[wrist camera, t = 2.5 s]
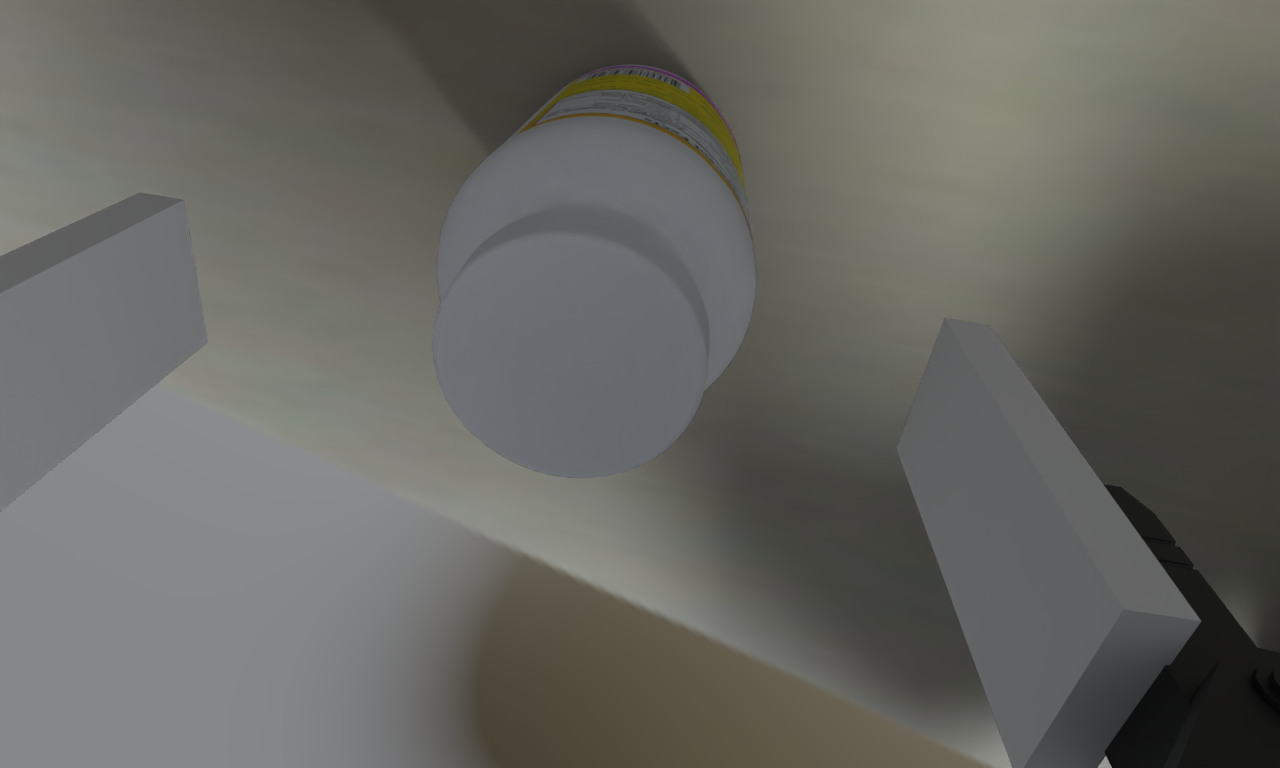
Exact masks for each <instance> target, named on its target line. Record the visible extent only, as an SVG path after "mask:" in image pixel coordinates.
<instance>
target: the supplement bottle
mask: <svg viewBox="0 0 1280 768" xmlns="http://www.w3.org/2000/svg"><path fill="white" fill-rule="evenodd" d="M437 283H438V290H439V296H440V302H441V304H440V307H439V310H438V313H437V317H436V321H435V325H434V334H433V358H434V364H435V368H436V373H437V377H438V380H439V383H440V385H441V388H442V390H443V393H444V395H445V397H446V399H447V401H448V403H449V404H450V406H451V408H452V409H453V411H454V413H455V414H456V415H457V417H458V418H459V419H460V420H461V422H462V423H463V424H464V426H465V427H466V428H467V429H468V430H469V431H470V432H471V433H472V434H473V435H474V436H475V437H476V438H478V439H479V440H480V441H481V442H482V443H484V444H485V445H486V446H487V447H489V448H490V449H492V450H493V451H495V452H496V453H498V454H500V455H501V456H503V457H505V458H507V459H509V460H511V461H513V462H515V463H517V464H519V465H521V466H523V467H525V468H528V469H531V470H534V471H537V472H541V473H545V474H549V475H554V476H560V477H568V478H593V477H602V476H608V475H613V474H617V473H621V472H625V471H628V470H630V469H633V468H636V467H638V466H640V465H642V464H644V463H647V462H648V461H650V460H652V459H653V458H655V457H657V456H658V455H660V454H661V453H662V452H664V451H665V450H666V449H667V448H668V447H669V446H670V445H672V444H673V443H674V442H675V441H676V440H677V439H678V438H679V437H680V435H681V434H682V433H683V432H684V431H685V430H686V428H687V427H688V425H689V424H690V422H691V421H692V419H693V417H694V415H695V413H696V411H697V409H698V407H699V405H700V402H701V399H702V397H703V393H704V391H705V390H706V389H707V388H708V387H709V386H710V385H711V384H712V383H713V382H714V381H715V380H716V379H717V378H718V377H719V376H720V375H721V374H722V373H723V372H724V371H725V369H726V368H727V366H728V365H729V364H730V362H731V361H732V359H733V358H734V356H735V354H736V353H737V351H738V349H739V347H740V345H741V343H742V341H743V338H744V336H745V334H746V331H747V329H748V326H749V323H750V319H751V315H752V311H753V307H754V300H755V291H756V266H755V257H754V249H753V242H752V235H751V230H750V224H749V218H748V210H747V203H746V197H745V190H744V182H743V176H742V169H741V163H740V157H739V153H738V149H737V145H736V142H735V139H734V137H733V134H732V132H731V129H730V127H729V125H728V123H727V122H726V120H725V118H724V117H723V115H722V114H721V112H720V111H719V109H718V108H717V107H716V106H715V105H714V103H713V102H712V101H711V100H710V99H709V98H708V97H707V96H706V95H705V94H704V93H703V92H702V91H701V90H700V89H698V88H697V87H696V86H694V85H693V84H692V83H690V82H689V81H687V80H685V79H684V78H682V77H680V76H678V75H676V74H674V73H671V72H668V71H666V70H663V69H660V68H656V67H651V66H645V65H635V64H623V65H614V66H609V67H604V68H600V69H597V70H594V71H591V72H588V73H586V74H584V75H582V76H580V77H578V78H577V79H575V80H573V81H572V82H570V83H569V84H567V85H566V86H565V87H563V88H562V89H561V90H560V91H558V92H557V93H556V94H555V95H554V96H553V97H552V98H550V99H549V100H548V101H547V102H546V103H545V104H544V105H543V106H542V107H541V108H540V109H539V110H538V111H537V112H536V113H535V114H534V115H532V116H531V117H530V118H529V119H528V120H527V121H526V122H525V123H524V124H523V125H522V126H521V127H520V128H519V129H518V130H517V131H516V132H515V133H514V134H513V135H512V136H510V137H509V138H508V139H507V140H506V141H505V142H504V143H503V144H502V145H501V146H499V147H498V148H497V149H496V150H495V151H494V152H492V153H491V154H490V155H489V156H488V157H487V158H486V159H485V160H484V161H483V162H482V163H481V164H480V165H479V166H478V167H477V168H476V169H475V170H474V171H473V172H472V173H471V174H470V175H469V177H468V178H467V179H466V181H465V182H464V183H463V185H462V187H461V188H460V190H459V191H458V193H457V195H456V196H455V198H454V200H453V202H452V204H451V206H450V208H449V210H448V213H447V216H446V218H445V221H444V224H443V227H442V231H441V235H440V240H439V247H438V255H437Z"/></svg>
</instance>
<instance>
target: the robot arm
mask: <svg viewBox="0 0 1280 768" xmlns="http://www.w3.org/2000/svg"><path fill="white" fill-rule="evenodd" d="M207 342H208V341H207V335H206V329H205V323H204V317H203V311H202V305H201V299H200V293H199V287H198V281H197V275H196V269H195V263H194V257H193V251H192V245H191V239H190V233H189V227H188V221H187V215H186V209H185V203H184V200H182V199H176V198H169V197H163V196H156V195H150V194H144V193H138V194H136V195H134V196H132V197H129V198H127V199H125V200H123V201H121V202H118V203H116V204H114V205H112V206H110V207H107V208H105V209H103V210H101V211H99V212H97V213H94V214H92V215H90V216H88V217H86V218H83V219H81V220H79V221H77V222H75V223H72V224H70V225H68V226H66V227H64V228H61V229H59V230H57V231H55V232H53V233H51V234H48V235H46V236H44V237H42V238H40V239H37V240H35V241H33V242H31V243H29V244H26V245H24V246H22V247H20V248H18V249H16V250H13V251H11V252H9V253H7V254H5V255H2V256H0V512H1V511H2V510H3V509H4V508H5V507H6V506H8V505H9V504H10V503H12V502H13V501H14V500H15V499H17V498H18V497H19V496H20V495H21V494H23V493H24V492H25V491H26V490H28V489H29V488H30V487H31V486H32V485H34V484H35V483H36V482H37V481H39V480H40V479H41V478H42V477H43V476H45V475H46V474H47V473H48V472H50V471H51V470H52V469H53V468H54V467H56V466H57V465H58V464H59V463H61V462H62V461H63V460H64V459H65V458H66V457H68V456H69V455H70V454H72V453H73V452H74V451H75V450H76V449H78V448H79V447H80V446H81V445H83V444H84V443H85V442H86V441H87V440H89V439H90V438H91V437H92V436H94V435H95V434H96V433H97V432H98V431H100V430H101V429H102V428H103V427H105V426H106V425H107V424H108V423H109V422H111V421H112V420H113V419H114V418H116V417H117V416H118V415H119V414H121V413H122V412H123V411H124V410H125V409H126V408H128V407H129V406H130V405H131V404H133V403H134V402H135V401H136V400H137V399H139V398H140V397H141V396H143V395H144V394H145V393H146V392H147V391H148V390H150V389H151V388H152V387H154V386H155V385H156V384H157V383H158V382H160V381H161V380H162V379H163V378H165V377H166V376H167V375H168V374H169V373H171V372H172V371H173V370H174V369H176V368H177V367H178V366H179V365H180V364H182V363H183V362H184V361H185V360H187V359H188V358H189V357H190V356H191V355H193V354H194V353H195V352H196V351H198V350H199V349H200V348H201V347H202V346H204V345H205V344H206V343H207ZM896 450H897V452H898V455H899V458H900V460H901V463H902V466H903V469H904V471H905V474H906V477H907V480H908V482H909V485H910V488H911V491H912V493H913V496H914V499H915V502H916V504H917V507H918V510H919V513H920V515H921V518H922V521H923V524H924V526H925V529H926V532H927V534H928V537H929V540H930V543H931V545H932V548H933V551H934V554H935V556H936V559H937V562H938V565H939V567H940V570H941V573H942V576H943V578H944V581H945V584H946V587H947V589H948V592H949V595H950V598H951V600H952V603H953V606H954V608H955V611H956V614H957V617H958V619H959V622H960V625H961V628H962V630H963V633H964V636H965V639H966V641H967V644H968V647H969V650H970V652H971V655H972V658H973V661H974V663H975V666H976V669H977V672H978V674H979V677H980V680H981V682H982V685H983V688H984V691H985V693H986V696H987V699H988V702H989V704H990V707H991V710H992V713H993V715H994V718H995V721H996V724H997V726H998V729H999V732H1000V735H1001V737H1002V740H1003V743H1004V745H1005V748H1006V751H1007V754H1008V756H1009V759H1010V762H1011V765H1012V767H1013V768H1097V767H1098V766H1099V764H1100V763H1101V762H1102V760H1103V759H1104V757H1105V756H1107V758H1108V760H1109V762H1110V764H1111V766H1112V768H1280V653H1278V652H1274V651H1270V650H1265V649H1261V648H1257V647H1256V645H1255V644H1254V643H1253V641H1252V640H1251V639H1250V638H1249V636H1248V635H1247V634H1246V632H1245V631H1244V630H1243V628H1242V627H1241V626H1240V625H1239V623H1238V622H1237V621H1236V619H1235V618H1234V617H1233V615H1232V614H1231V613H1230V612H1229V610H1228V609H1227V608H1226V606H1225V605H1224V604H1223V602H1222V601H1221V600H1220V599H1219V597H1218V596H1217V595H1216V593H1215V592H1214V591H1213V589H1212V588H1211V587H1210V586H1209V584H1208V583H1207V582H1206V580H1205V579H1204V578H1203V576H1202V575H1201V574H1200V572H1199V571H1198V570H1193V563H1192V562H1191V561H1190V559H1189V558H1188V557H1187V556H1186V554H1185V553H1184V552H1183V550H1182V549H1181V548H1180V547H1177V546H1175V540H1174V539H1173V537H1172V536H1171V535H1170V533H1169V532H1168V531H1167V530H1166V528H1165V527H1164V526H1163V524H1162V523H1161V522H1160V520H1159V519H1158V518H1157V517H1156V515H1155V514H1154V513H1153V512H1152V511H1150V510H1149V509H1148V508H1147V507H1145V506H1144V505H1143V504H1142V503H1140V502H1139V501H1138V500H1137V499H1135V498H1134V497H1133V496H1131V495H1130V494H1129V493H1128V492H1126V491H1125V490H1124V489H1123V488H1121V487H1117V486H1110V485H1104V484H1103V483H1102V482H1101V481H1100V479H1099V478H1098V476H1097V475H1096V474H1095V472H1094V471H1093V469H1092V468H1091V467H1090V465H1089V464H1088V462H1087V461H1086V460H1085V458H1084V457H1083V455H1082V454H1081V453H1080V451H1079V450H1078V448H1077V447H1076V446H1075V444H1074V443H1073V441H1072V440H1071V439H1070V437H1069V436H1068V435H1067V433H1066V432H1065V430H1064V429H1063V428H1062V426H1061V425H1060V423H1059V422H1058V421H1057V419H1056V418H1055V416H1054V415H1053V414H1052V412H1051V411H1050V409H1049V408H1048V407H1047V405H1046V404H1045V402H1044V401H1043V400H1042V398H1041V397H1040V395H1039V394H1038V393H1037V391H1036V390H1035V388H1034V387H1033V386H1032V384H1031V383H1030V382H1029V380H1028V379H1027V377H1026V376H1025V375H1024V373H1023V372H1022V370H1021V369H1020V368H1019V366H1018V365H1017V363H1016V362H1015V361H1014V359H1013V358H1012V356H1011V355H1010V354H1009V352H1008V351H1007V349H1006V348H1005V347H1004V345H1003V344H1002V342H1001V341H1000V340H999V338H998V337H997V335H996V334H995V333H994V331H993V330H992V328H991V327H990V326H989V325H986V324H980V323H973V322H967V321H960V320H954V319H947V318H945V319H944V321H943V324H942V327H941V329H940V332H939V335H938V338H937V340H936V343H935V346H934V348H933V351H932V354H931V356H930V359H929V362H928V365H927V367H926V370H925V373H924V375H923V378H922V381H921V383H920V386H919V389H918V392H917V394H916V397H915V400H914V402H913V405H912V408H911V411H910V413H909V416H908V419H907V421H906V424H905V427H904V429H903V432H902V435H901V438H900V440H899V443H898V446H897V448H896Z"/></svg>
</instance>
